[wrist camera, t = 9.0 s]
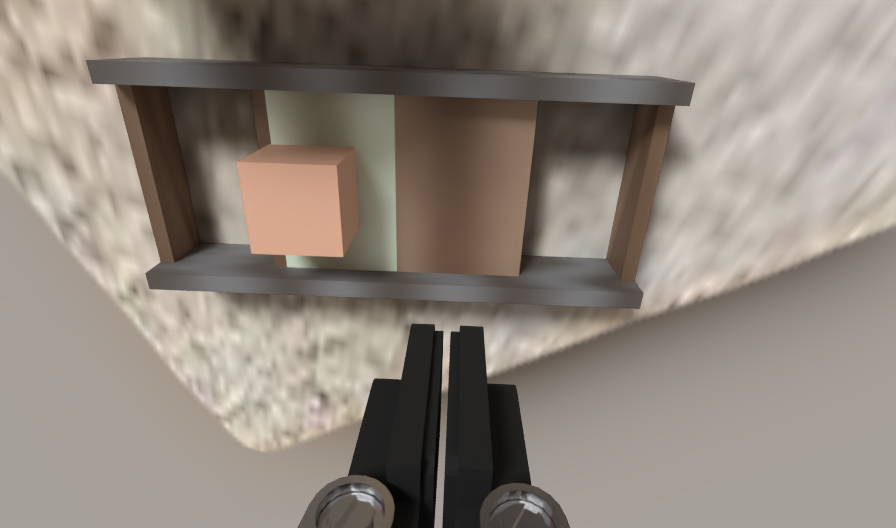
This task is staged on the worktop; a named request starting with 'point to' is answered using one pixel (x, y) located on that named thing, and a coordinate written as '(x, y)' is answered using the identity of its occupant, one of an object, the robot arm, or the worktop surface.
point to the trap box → (400, 178)
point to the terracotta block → (300, 199)
